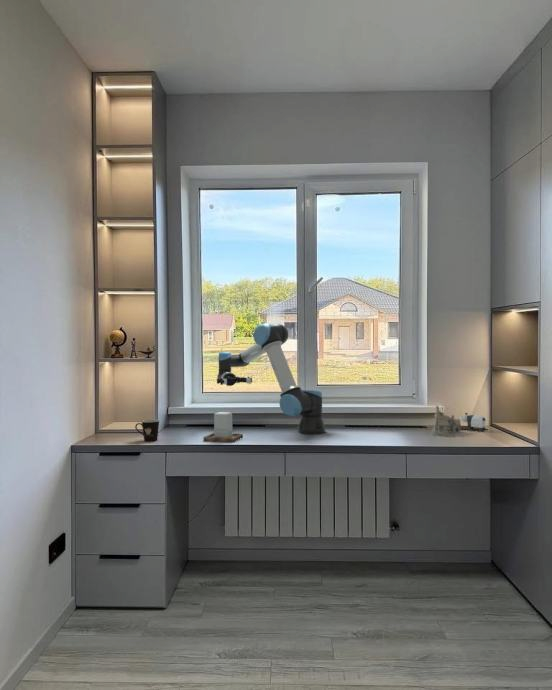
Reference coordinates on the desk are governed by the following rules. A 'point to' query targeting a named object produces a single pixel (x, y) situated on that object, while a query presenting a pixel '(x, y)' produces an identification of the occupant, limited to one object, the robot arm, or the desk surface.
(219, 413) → the supplement box
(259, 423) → the desk surface
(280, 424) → the desk surface
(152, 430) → the coffee mug
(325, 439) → the desk surface
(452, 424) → the ceramic cottage
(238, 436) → the walnut tray
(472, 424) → the giant panda
